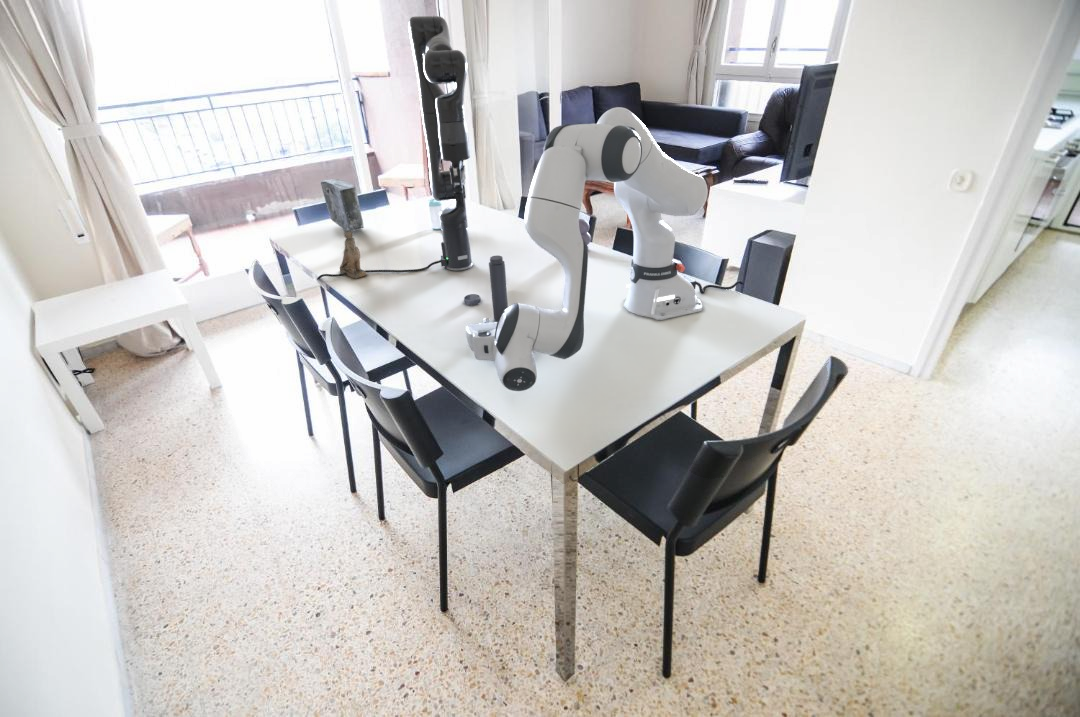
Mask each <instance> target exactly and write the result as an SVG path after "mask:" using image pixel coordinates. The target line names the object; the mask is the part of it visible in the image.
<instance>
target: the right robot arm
mask: <svg viewBox="0 0 1080 717" xmlns="http://www.w3.org/2000/svg"><path fill="white" fill-rule="evenodd" d="M587 181H595V182H608V181H609V182H611V183H613V194H614V197H615V200H616V201H617V202H618V203H619V205H620V206H622V208H623V209H624V211H625V213H626V214H627V216H628V219H629V221H630V224H631V228H632V235H633V252H632V259H631V261H630V268H629V279H630V283H629V284H626V288H628V292H627V296H626V299H625V300H624V304H623V306H624V308H625V310H627V311H628V312H629V313H631V314H635V315H637V316H641V317H647V318H651V319H653V320H656V321H663V320H667V319H673V318H678V317H681V316H685V315H686V316H687V315H691V314H694V313H699V312H702V311H703V302H702V301H701V299H700V298H698V297H697V296H696V288H697V286H698V289H699V293H700V294H704V293H705V291H706V290H707V289H709V288H713V289H718V290H725V291H727V290H728V291H729V290H732V289H734V288H736V286H738V285H739V284H740V285H744V282H743V281H742V280H737V281H735V283H734V284H732V285H730V286H721V285H716V284H707V285H706V284H705V286H703V287H702V284H701V283H700V282H698V281H697V280H695V279H694V278H691V277H689V276H688V275H684V276H683V275H682V274H680V273H683V272H684V271H685V270H686V267H685V265H684V264H682V263H679V262H678V261H677V260H675V259H674V253H675V245H676V234H675V231H674V230H673V229H672V227H670V226H669V225H668V224H667V223H666V222H665V221H664V219H663V216H662V214H663V215H668V216H673V217H689V216H690V217H691V216H695V215H696V214H698V213H699V212H700V211H701V210H702V209H703V207H704V206H705V204H706V202H707V200H708V194H709V193H708V192H709V191H708V185H707V182H706V180H705V178H704V177H703V176H702V175H698V174H696V173H694V172H692V171H690V170H689V169H687V168H685V167H683V166H682V165H681V164H680V163H678V162H676V161H675V160H674V159H673V158H671V157H670V156H668V155H667V154H666V153H665V152H664V151H662V149H661V148H660V146H659V145H658V143H657V142H656V141H655V139H654V137H653V135H652V134H651V132H650V131H649V129H648V128H647V127H646V125H645V124H644V123H643V122H642V120H640V118H639V117H638V116H637V115H635V113H633V112H632V111H631V110H629V109H628V108H626V107H622V106H621V107H620V106H616V107H611V108H610V109H608V110H607V111H605V112H604V113H603V114H602V115H601V116H600V117H599V119H598V120H597V122H596V123H579V124H571V123H566V124H561V125H558V126H556V127H553V129H551V131H550V132H549V133H548V134H547V137H546V138H545V141H544V143H543V152H542V154H541V156H540V158H539V160H538V162H537V165H536V168H535V171H534V174H533V177H532V180H531V182H530V185H529V186H530V187H529V190H528V194H527V198H526V203H525V209H524V215H523V216H524V217H523V224H524V228H525V230H526V233H527V234H528V236H529V237H530V239H531V240H532V241H533V243H535V244H536V245H537V246H538V247H540V248H541V249H543V251H544V252H546V253H548V254H550V255H551V256H552V257H553V258H555V259H556V260H557V261H558V262H559V264H560V265H561V267H562V269H563V271H564V286H563V289H564V290H563V300H562V301H563V302H562V309H561V310H560V311H559V310H552V309H548V308H543V307H538V306H536V305H530V304H525V303H519V302H515V303H512V304H510V305H508V308H507V309H505V310H504V311H503V312H502V313H501V315H500V317H499V319H498V322H494V321H492V322H490V318H489V317H483V318H482V321H481V322H479V323H474V324H473V323H472V324H468V325H467V326H465V334H466V340H467V345H468V347H469V350H470V351H472V352H473V355H474V358H475V360H477V361H488V362H494V367H495V370H496V374H497V376H498V379H499V381H500V383H501V384H502V385H503V387H505V389H507V390H510V391H514V392H523V391H524V392H525V391H527V390H529V389H531V388H532V387H533V386H534V385H535V384H536V382H537V378H538V373H537V372H538V370H537V365H536V364H537V363H536V359H535V355H534V353H538V354H543V355H549V356H551V357H554V358H558V359H561V360H567V359H569V358H571V357H573V356H574V355H575V354H577V353H578V352H579V351H580V350H581V349H582V346H583V343H584V338H585V302H586V291H587V290H586V289H587V278H588V264H589V246H588V245H587V242H586V241H585V240H584V239H583V238H582V236H581V233H580V229H579V219H580V214H581V209H582V205H583V200H584V194H585V187H586V186H585V185H586V182H587ZM587 246H588V247H587ZM726 289H727V290H726Z"/></svg>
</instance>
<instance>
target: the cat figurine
mask: <svg viewBox="0 0 1080 717" xmlns="http://www.w3.org/2000/svg"><path fill="white" fill-rule="evenodd" d="M579 229H580V233H581V236H582V238H583V239H584V240H585V241H586V242H587V247H588V248H589V246H588V245H590V243H591V241H592V236H591V234H590V233H589V231H590V224H589V222H588V221H587V219H584V218H579Z"/></svg>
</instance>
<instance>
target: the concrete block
mask: <svg viewBox="0 0 1080 717" xmlns="http://www.w3.org/2000/svg"><path fill="white" fill-rule="evenodd" d="M320 186H321V189H322V193H323V197H324V202H325V204H326V208H327V212H328V215H329V217H330V220H332V222H334V223H335V224H336V225H338V226H339V227H341V228H342V229H343V230H345V232H346V231H348V230H350V231H352V232H355V231H358V230H361V229H364V228H365V226H364V220H363V216H362V212H361V207H360V206H361V205H360V201H359V197H358V192H357V188H356V186H355V185H354V184H353V183H351V182H348V181H347V180H344V179H339V178H330V179H324V180H322V181H320Z"/></svg>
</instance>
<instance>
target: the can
mask: <svg viewBox="0 0 1080 717" xmlns="http://www.w3.org/2000/svg"><path fill="white" fill-rule="evenodd" d="M426 207H427V211H428V212H427V213H428V219H429V226H430V228H431V229H433V230H442V229H441V223H440V212H441V211H442V210H444V209H445V205H444V201H436V200H435V199H434V198H432V199H428V201H427V204H426Z"/></svg>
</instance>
